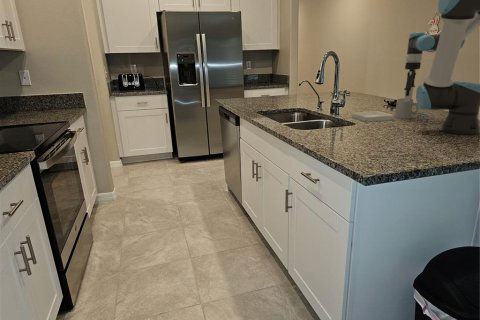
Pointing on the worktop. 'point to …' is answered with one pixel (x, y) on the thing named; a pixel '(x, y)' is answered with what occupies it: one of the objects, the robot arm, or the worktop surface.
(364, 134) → the worktop surface
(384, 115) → the tray
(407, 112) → the mug
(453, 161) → the worktop surface
